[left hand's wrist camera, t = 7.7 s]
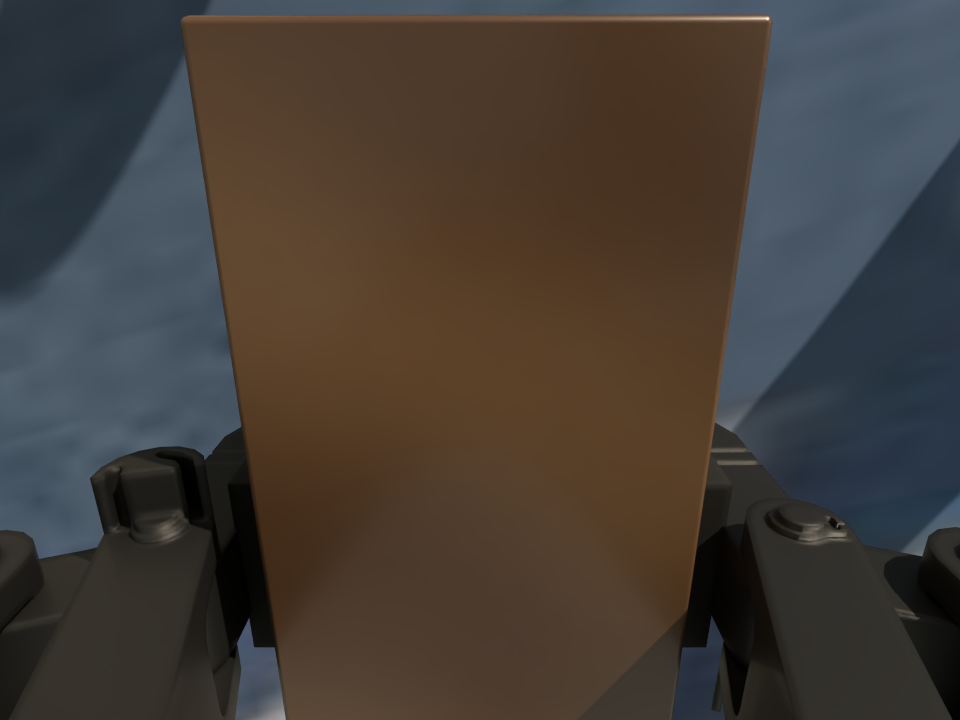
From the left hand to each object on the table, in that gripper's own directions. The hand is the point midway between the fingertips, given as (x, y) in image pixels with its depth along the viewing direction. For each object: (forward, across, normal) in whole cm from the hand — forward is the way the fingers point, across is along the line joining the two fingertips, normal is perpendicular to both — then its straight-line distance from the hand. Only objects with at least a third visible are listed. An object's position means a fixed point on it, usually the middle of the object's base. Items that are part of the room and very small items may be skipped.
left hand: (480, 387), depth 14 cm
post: (+1, 0, -22) cm, 22 cm away
